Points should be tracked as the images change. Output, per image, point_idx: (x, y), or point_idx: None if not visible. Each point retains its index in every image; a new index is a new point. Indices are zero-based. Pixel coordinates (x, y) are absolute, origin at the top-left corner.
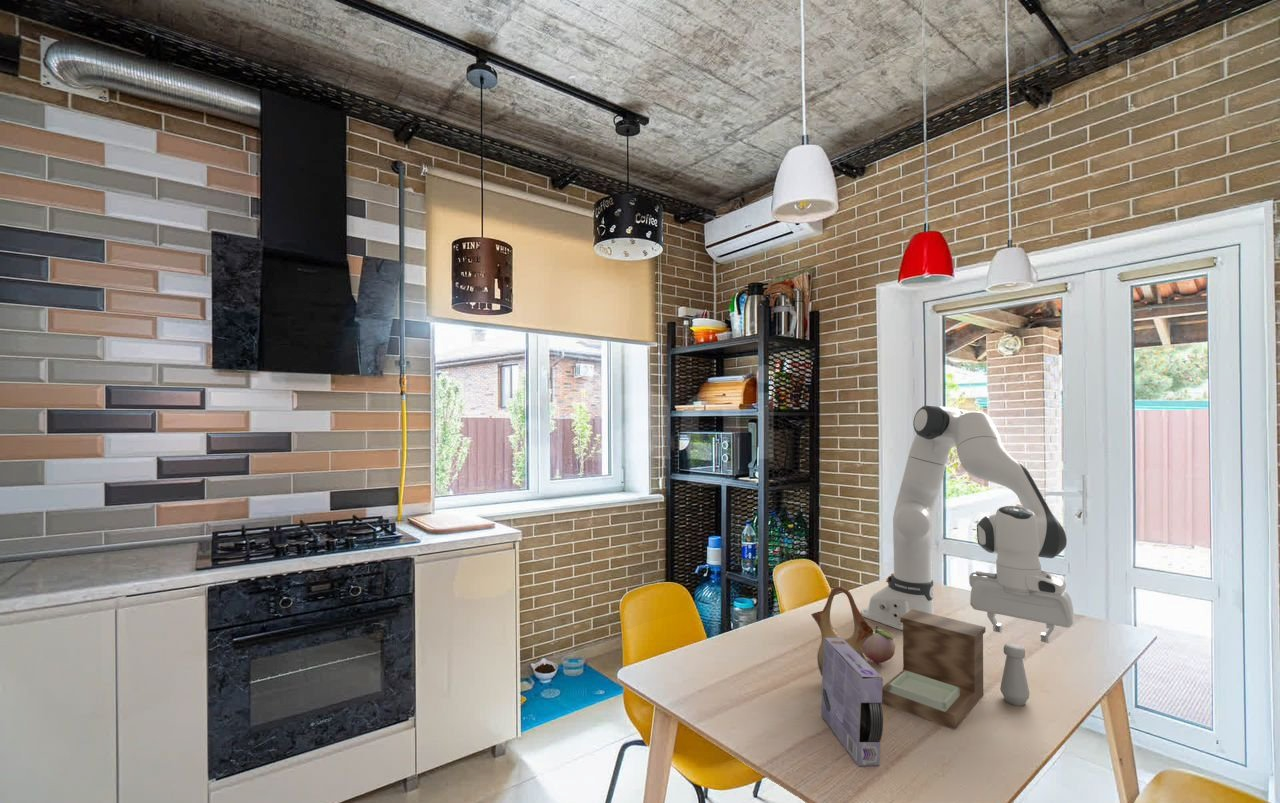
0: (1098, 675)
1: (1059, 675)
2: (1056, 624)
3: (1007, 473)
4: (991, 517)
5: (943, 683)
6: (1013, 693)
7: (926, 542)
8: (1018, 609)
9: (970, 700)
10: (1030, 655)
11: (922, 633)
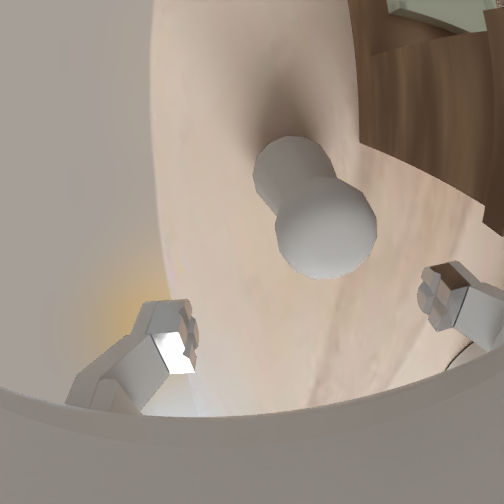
0: (208, 397)
1: (252, 366)
2: (24, 401)
3: None
4: None
5: (435, 13)
6: (287, 138)
7: None
8: (407, 494)
9: (362, 19)
10: (311, 395)
11: None
